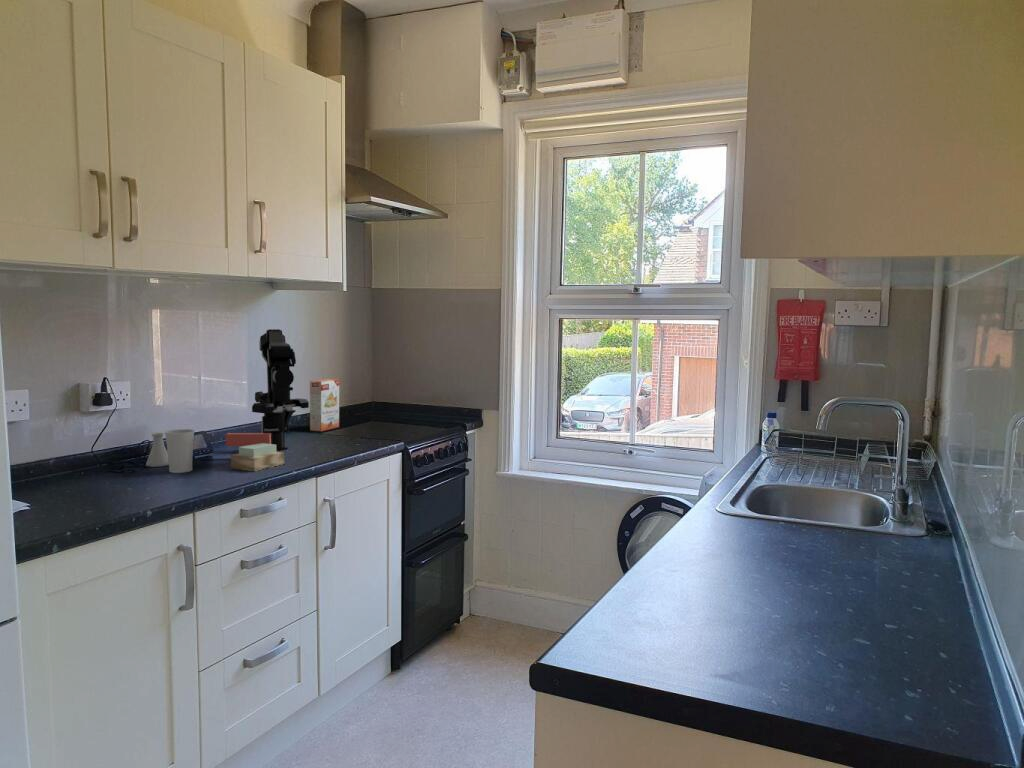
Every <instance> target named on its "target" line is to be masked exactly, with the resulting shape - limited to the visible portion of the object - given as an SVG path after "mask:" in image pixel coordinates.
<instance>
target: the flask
mask: <svg viewBox="0 0 1024 768" xmlns="http://www.w3.org/2000/svg"><path fill="white" fill-rule="evenodd" d="M164 435H165V432H155V433H152V434H151V436H152V445H151V448H150V449H151V450H150V452H149V454H148V457H147V460H146V464H145V467H151V468H155V467H156V468H157V467H165V466H169V460H168V451H167V447H166V446H165V442H164Z"/></svg>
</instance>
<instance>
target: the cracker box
mask: <svg viewBox="0 0 1024 768" xmlns="http://www.w3.org/2000/svg"><path fill="white" fill-rule="evenodd" d="M339 428H340V379H336V378H334V379H333V378H327V379H320V380H319V379H318V380H311V381H309V431H310V432H319V433H320V432H325V431H329V430H335V429H339Z"/></svg>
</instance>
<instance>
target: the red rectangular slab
mask: <svg viewBox="0 0 1024 768" xmlns="http://www.w3.org/2000/svg"><path fill="white" fill-rule="evenodd" d="M258 443H266V444H271V433H262V432H257V433H256V432H240V433H239V432H231V433H230V432H228V433H225V447H242V446H247V445H253V444H258Z"/></svg>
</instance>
